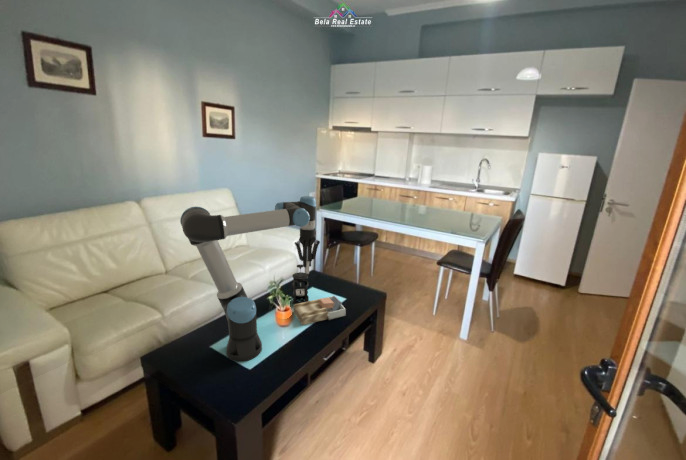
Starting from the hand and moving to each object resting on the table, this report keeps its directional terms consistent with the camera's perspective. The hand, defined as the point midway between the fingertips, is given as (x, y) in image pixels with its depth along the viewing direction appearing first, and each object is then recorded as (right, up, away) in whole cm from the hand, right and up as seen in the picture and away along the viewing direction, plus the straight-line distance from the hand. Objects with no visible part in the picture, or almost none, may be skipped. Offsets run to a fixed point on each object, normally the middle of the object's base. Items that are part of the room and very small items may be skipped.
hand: (306, 272), depth 163 cm
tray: (+12, -23, +14) cm, 29 cm away
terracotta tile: (+9, -20, +11) cm, 24 cm away
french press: (-6, -20, +22) cm, 30 cm away
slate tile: (+13, -18, +13) cm, 26 cm away
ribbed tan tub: (+1, -24, +8) cm, 25 cm away
